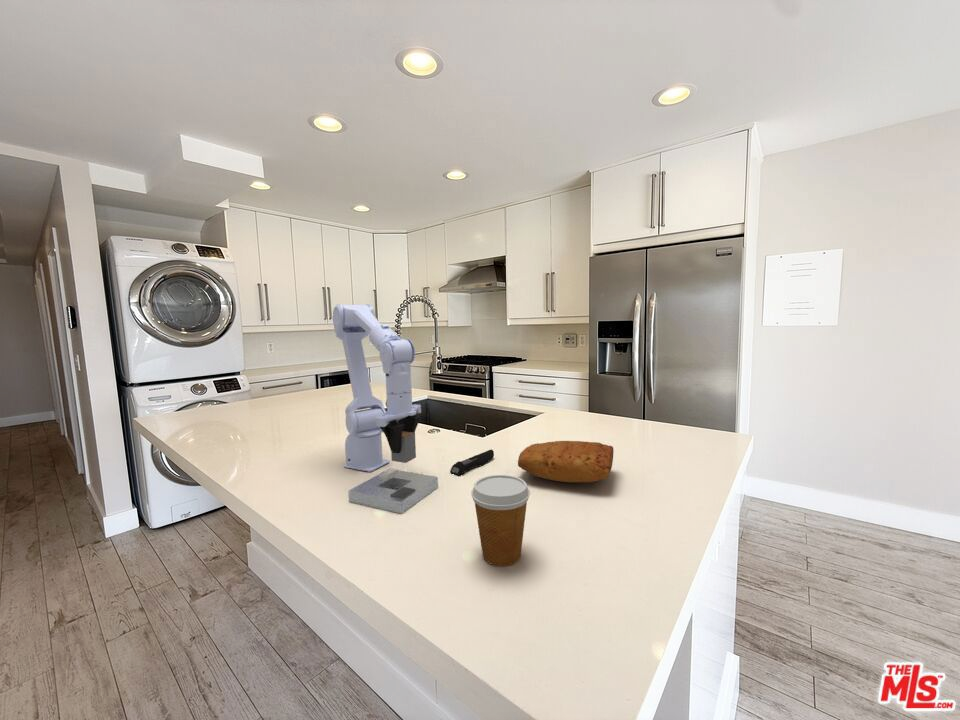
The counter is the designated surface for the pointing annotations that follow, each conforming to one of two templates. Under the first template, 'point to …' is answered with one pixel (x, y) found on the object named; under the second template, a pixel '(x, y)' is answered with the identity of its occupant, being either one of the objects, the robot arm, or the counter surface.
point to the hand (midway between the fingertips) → (401, 449)
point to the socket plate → (384, 497)
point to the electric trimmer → (471, 462)
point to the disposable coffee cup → (501, 517)
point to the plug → (406, 448)
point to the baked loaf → (568, 461)
